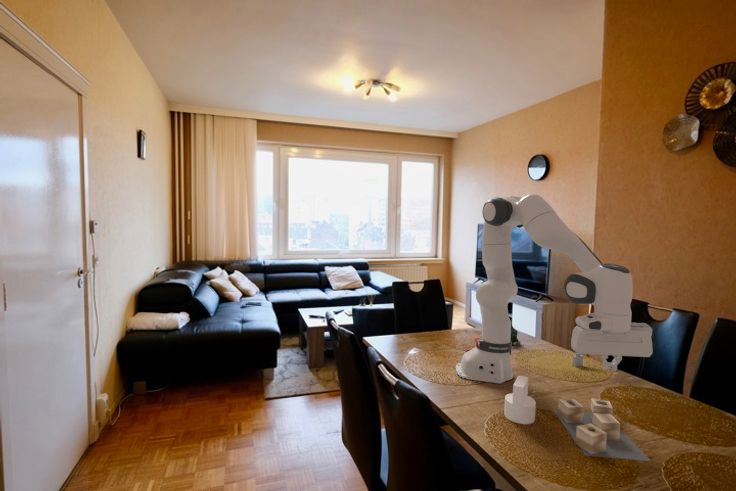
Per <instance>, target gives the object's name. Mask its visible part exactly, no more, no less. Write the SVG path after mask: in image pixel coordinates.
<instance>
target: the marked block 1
mask: <svg viewBox="0 0 736 491" xmlns="http://www.w3.org/2000/svg"><path fill="white" fill-rule="evenodd" d="M584 409H585V407H584V405H582V403H579V401H577V400H576V399H575V398H574V399H572V398H569V399H567V398H563V399H561V398H560V399H558V409H557V410H558V415H559V416H560V417H561V418H562V419H563V420H564V421H566V422H567V423H583V416H584V412H585V410H584Z"/></svg>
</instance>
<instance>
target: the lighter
mask: <svg viewBox="0 0 736 491" xmlns="http://www.w3.org/2000/svg"><path fill="white" fill-rule="evenodd" d="M584 357H585V358H586V357H587V354H578V353H576V352H575V354H574V355H572V366H573V367H576V368H577V367H582V366H584V365H583V364H584Z"/></svg>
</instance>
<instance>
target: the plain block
mask: <svg viewBox="0 0 736 491" xmlns="http://www.w3.org/2000/svg"><path fill="white" fill-rule="evenodd" d="M592 425H594V426H596V427H597V428H599V429H601V430H602V431H604V432H606V433H607V438H606V440H615V441H619V438H620V429H621V423H620V421H618V420H617V419H616V418H615V416H613V414H612V415H611V414H598V413H593V424H592Z"/></svg>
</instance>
